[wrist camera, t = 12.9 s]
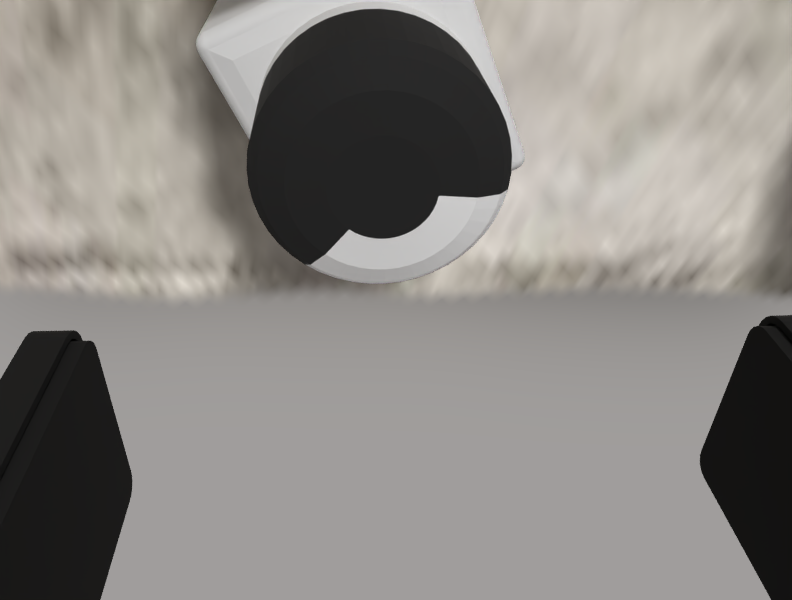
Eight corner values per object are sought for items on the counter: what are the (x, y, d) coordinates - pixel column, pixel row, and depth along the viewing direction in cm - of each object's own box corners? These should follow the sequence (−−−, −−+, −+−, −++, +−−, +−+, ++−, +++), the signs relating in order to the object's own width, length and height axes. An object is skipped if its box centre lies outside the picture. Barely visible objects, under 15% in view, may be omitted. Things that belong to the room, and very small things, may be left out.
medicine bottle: (221, -18, 24) (148, 111, 14) (416, -114, 22) (485, -46, 13) (316, 160, 28) (311, 356, 18) (486, 87, 26) (579, 254, 17)
